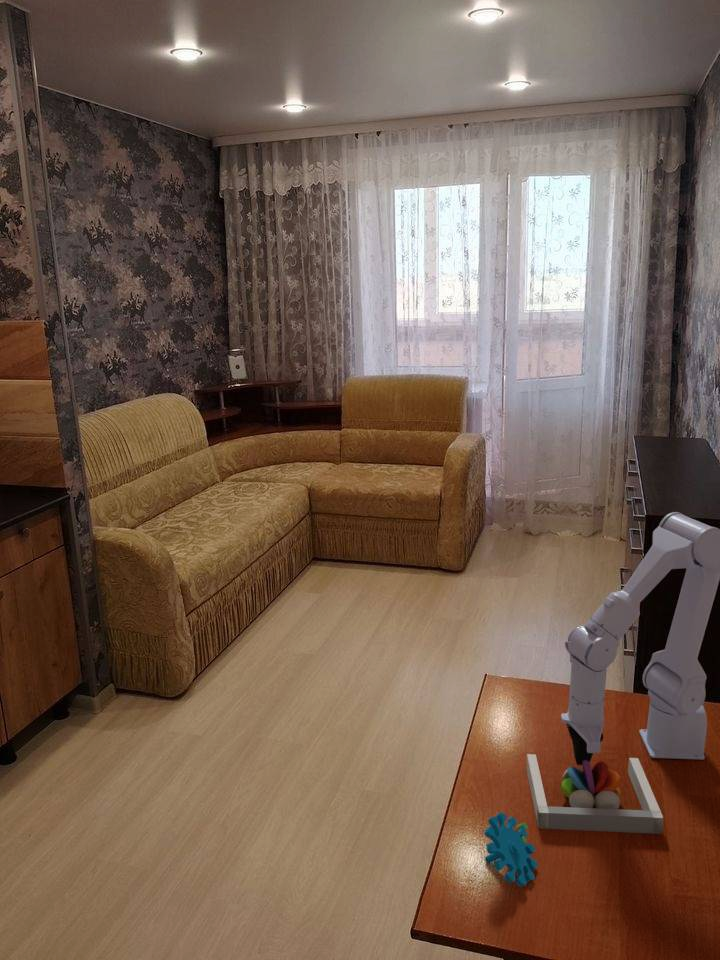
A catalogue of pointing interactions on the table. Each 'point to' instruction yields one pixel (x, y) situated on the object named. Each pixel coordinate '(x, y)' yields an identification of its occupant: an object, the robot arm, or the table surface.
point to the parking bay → (594, 817)
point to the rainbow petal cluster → (592, 786)
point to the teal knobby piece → (510, 849)
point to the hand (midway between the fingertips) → (581, 762)
